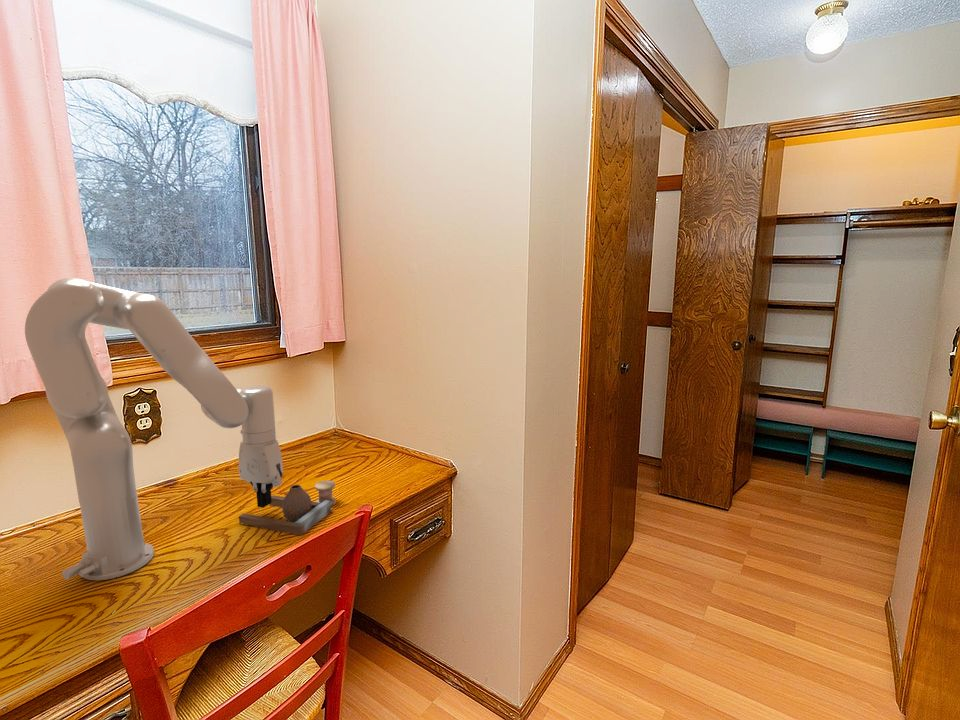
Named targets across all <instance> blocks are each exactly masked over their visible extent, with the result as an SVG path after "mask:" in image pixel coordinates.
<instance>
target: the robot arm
mask: <svg viewBox="0 0 960 720" xmlns="http://www.w3.org/2000/svg"><path fill="white" fill-rule="evenodd" d="M88 324H96V325H101V326H105V327H111V328H117V329H125V330H129V331H130V332H131V334H132V335H133V336H134V337H135V338H136V340H138V342H139V343H140V345H142V346H143V347H144V349H145V350H146V351H147V352H148V354H149V355H150V356H152V358H153V359H154V360H155V361H156V362H157V364H159V366H160V367H161V368H162V370H164V372H165V373H167V374H168V376H170V377H171V379H173V380H174V381H175V382H177V383H178V384H180V385H181V386H182V387H183V388H184V389H186V391H187V392H189V393H190V394H191V396H193V398H194V399H195V400H196V401H197V402H198V403H199V404H200V407H201V408H200V409H201V411H202V413H203V414H204V415H205V417H207V418H208V419H210V420H211V421H212V422H213V423H215V424H216V425H218V426H219V427H220V428H223V429H235V428H239V427H240V426H241V430H240V432H239V433H240V435H242V436H241V437H242V440H241V441H240V444H239V450H238V474H239V479H241V481H244V482H247V483H248V484H250V485H251V486H252V488H253V491H254V492H255V493H256V501H257V502H256V504H257V505H256V506H257V508H261V509H262V508H263V509H264V508H265V507H267V506H270V504H271V502H272V500H271V496H272V490H273V488H275V487H279V486H281V485H282V484H283V481H282V478H283V475H284V467H283V466H284V465H283V457H282V451H281V448H280V444H279V441H278V439H277V434H276V421H275V419H276V418H275V409H274V408H275V406H274V405H275V402H274V394H273V390H272V388H271V387H269V386H267V385H252V386H246V387H244V388H236V387H235V386H234V385H233V383H232V382H231V381H230V380H229V378H227V376H226V375H225V374H224V372H223V371H222V370H221V369H220V368H219V367H218V366H217V365H216V364H215V363H214V362H213V360H212V359H211V357H210V356H209V355H208V354H207V353H206V352H205V351H204V350H203V349H202V347H201V346H200V345H199V344H198V343H197V341H196V340H195V338H194V337H193V336H192V335H191V333H189V331H188V330H187V329H186V327H185V326H184V325H183V324H182V322H181V321H180V320H179V319H178V317H176V315H175V313H174V312H173V311H172V310H171V309H170V307H169V306H168V305H167V304H166V303H165V302H164V301H163V300H162V299H161V298H160V297H158V296H155V295H152V294H149V293H145V292H136V291H132V290H131V291H130V290H127V289H126V290H125V289H122V288H117V287H112V286H108V285H104V284H100V283H96V282H93V281H92V282H91V281H88V280H86V279H83V278H78V277H66V278H62V279H58V280H56V281H55V282H53V283H52V284H51V285H49V287H48V289H47V290H46V291H45V292H44V293H42V294H40V296H39V297H38V298H37V299H36V300H35V301H34V303H33V304H32V305H31V307H30V309H29V311H28V313H27V315H26V319H25V325H24V336H25V340H26V345H27V347H28V350H29V352H30V355H31V358H32V360H33V362H34V364H35V367H36V370H37V373H38V374H39V376H40V379H41V381H42V383H43V386H44V388H45V389H44V390H45V396H46V399H47V401H48V403H49V405H50V406H51V408H52V410H53V412H54V414H55V416H56V418H57V421H58V422H59V425H60V427H61V429H62V431H63V433H64V436H65V437H66V440H67V442H68V447H69V451H70V456H71V461H72V467H73V472H74V477H75V478H74V479H75V485H76V491H77V495H78V496H77V497H78V502H79V507H80V508H79V509H80V513H81V519H82V520H81V521H82V525H83V526H82V527H83V531H84V538H85V545H86V549H87V551H85V552H84V553H82V554H81V557H82V559H80V560H79V561H78V563H77V564H75V565H72V566H69V567H68V568H66V569H64V570H62V572H61V576H62V577H63V579H64V580H67V581H68V580H70V579H72V578H73V577H75V576H77V575H78V576H79V577H80V578H84V579H85V580H87V581H88V580H89V581H105V580H106V581H107V580H112V579H116V577H117V578H120V577H123V576H126V575H128V574H131V573H133V572H135V571H136V570H139V569H141V568H143V567H144V566H145V565H146V564H148V563H149V562H150V561H151V560H152V559H153V557H154V554H155V549H154V547H153V545H152V544H149V543H147V542H145V541H144V534H143V528H142V527H143V526H142V521H141V520H142V519H141V518H142V517H141V511H140V507H139V505H140V504H139V497H138V492H137V486H136V484H137V483H136V480H135V479H136V478H135V471H134V458H133V457H134V456H133V455H134V453H133V444H132V439H131V437H130V435H129V433H128V431H127V429H126V427H125V426H124V425H123V424H122V423H121V421H120V419H119V417H118V414H117V412H116V410H115V407H114V406H113V403H112V401H111V398H110V395H109V389H108V385H107V382H106V381H105V379H104V378H103V377H102V376H101V374H100V371H99V369H98V367H97V365H96V362H95V360H94V357H93V355H92V353H91V348H90V345H89V344H88V341H87V339H86V328H87V326H88Z"/></svg>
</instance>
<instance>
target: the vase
mask: <svg viewBox="0 0 960 720" xmlns="http://www.w3.org/2000/svg"><path fill="white" fill-rule="evenodd" d="M283 497H284V500H283V504H282V508H281V509H282V514H283V517H284V518H285V520H286V521H288V522H294V523H295V522H296V521H298V520H299V519H300V518H302V517H303V516H304V515H306V514H307V513H308V512H310V511H311V509H312V502H313V501H312V498H311V496H310V494H309V493H308V492H307V491H306V490H305V489H303V487H302V485H300V484H294V485H291V486H290V488H289V490H288V492H287V493H286V495H284V496H283ZM311 501H312V502H311Z"/></svg>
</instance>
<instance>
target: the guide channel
mask: <svg viewBox="0 0 960 720" xmlns="http://www.w3.org/2000/svg"><path fill="white" fill-rule="evenodd" d="M284 497H285V496H280V495H273V494H271V500H272V502H271V506H275V505H276V507H282V504H283V500H284ZM311 502H312V509H311V511H310V512H308V513H307V514H306V515H304V516H303V517H302V518H300V519H299V520H298V521H296V522H295V523H294V522H289V521H288V520H283V519H282V520H281V519H277V518H271V517H270V518H269V517H265V516H259V515H253V514H248V513H242V514H240V515H238V521H239V522H238V523H243V524H247V525H246V526H248V525H252V526H251V527H254V526H257V527H256V528H259V527H261V528H260V529H265V528H266V530H270V531H276V532H282V533H286V534H292V535H297V536H302V535H304V534H305V533H306V532H307V531H308V530H309V529H311V528H312V527H314V525H316V524H317V523H318V522H320V521H322V519H323V518H325V517H326V516H328V515H329V514H330V513H331V512H332V506H331V504H330V501H328V500H325V501H323V502H322V503H318V502H316V501H312V500H311ZM243 524H242V525H243Z"/></svg>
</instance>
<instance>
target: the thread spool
mask: <svg viewBox="0 0 960 720" xmlns="http://www.w3.org/2000/svg"><path fill="white" fill-rule="evenodd" d="M314 487H315V490H317V491H318V498H317V499H316V501H315V502H318V503H322V502H323V501H325V500H328V501H330V504H331V507H333V506H334V505H335V504H336V503H337V501H336V497H333V489H335V487H336V482H335V481H333V480H326V479H325V480H321V481H318V482H316V483H315V485H314Z"/></svg>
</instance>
